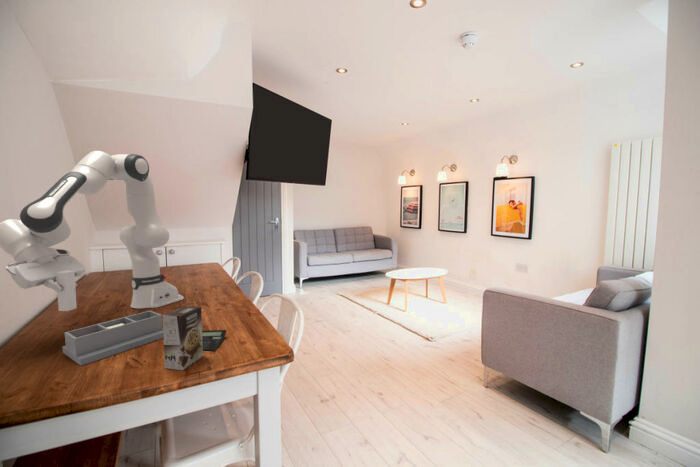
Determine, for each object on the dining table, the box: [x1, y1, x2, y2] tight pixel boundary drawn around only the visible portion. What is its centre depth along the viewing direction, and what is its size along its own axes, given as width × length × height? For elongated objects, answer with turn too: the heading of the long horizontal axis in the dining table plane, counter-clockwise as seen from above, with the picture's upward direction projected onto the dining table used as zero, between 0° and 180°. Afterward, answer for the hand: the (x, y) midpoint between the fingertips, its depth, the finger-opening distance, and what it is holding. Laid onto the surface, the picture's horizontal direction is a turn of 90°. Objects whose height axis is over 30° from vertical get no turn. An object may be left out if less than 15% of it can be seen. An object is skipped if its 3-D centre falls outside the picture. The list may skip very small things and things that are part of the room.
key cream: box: [106, 323, 125, 329], centre depth 107 cm, size 5×5×2 cm
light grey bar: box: [56, 271, 78, 312], centre depth 105 cm, size 3×3×13 cm
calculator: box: [202, 329, 227, 352], centre depth 107 cm, size 9×12×3 cm
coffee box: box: [162, 305, 204, 371], centre depth 94 cm, size 9×6×16 cm
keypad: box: [61, 310, 164, 367], centre depth 107 cm, size 25×16×8 cm, turn 147°
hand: (67, 288), depth 105 cm, fingers closed on light grey bar, 3 cm apart
